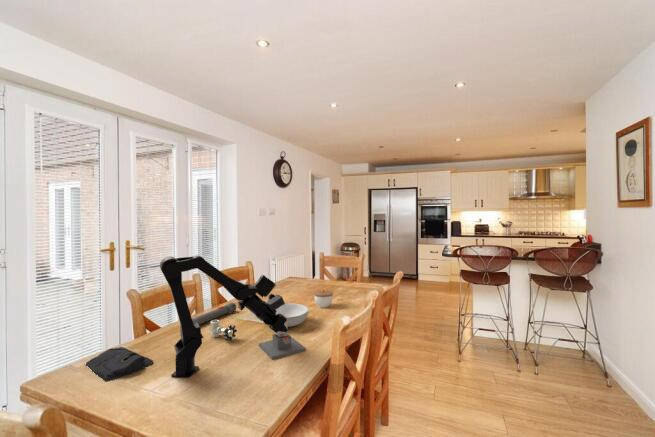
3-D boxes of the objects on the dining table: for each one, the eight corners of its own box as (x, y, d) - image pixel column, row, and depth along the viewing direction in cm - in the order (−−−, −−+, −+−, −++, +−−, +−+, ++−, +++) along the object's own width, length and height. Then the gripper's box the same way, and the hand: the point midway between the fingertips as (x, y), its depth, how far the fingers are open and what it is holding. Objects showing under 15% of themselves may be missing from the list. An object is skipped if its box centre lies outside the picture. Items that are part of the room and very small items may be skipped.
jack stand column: (279, 347, 122) (279, 318, 121) (275, 344, 125) (275, 316, 125) (287, 345, 124) (287, 317, 123) (284, 342, 127) (283, 314, 126)
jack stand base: (271, 359, 115) (271, 345, 114) (258, 345, 126) (258, 332, 126) (305, 350, 122) (305, 337, 122) (290, 338, 134) (290, 325, 134)
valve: (205, 337, 135) (224, 343, 129) (205, 322, 135) (224, 327, 129) (218, 332, 141) (237, 338, 135) (217, 318, 141) (236, 322, 134)
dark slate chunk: (128, 350, 124) (127, 338, 124) (156, 365, 112) (156, 352, 112) (81, 366, 112) (80, 352, 112) (107, 385, 99) (107, 370, 99)
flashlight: (187, 327, 147) (187, 317, 147) (229, 310, 173) (229, 301, 173) (195, 329, 145) (195, 318, 145) (236, 311, 171) (236, 302, 170)
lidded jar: (311, 304, 182) (311, 288, 181) (328, 302, 186) (328, 286, 186) (318, 310, 172) (318, 293, 172) (336, 307, 176) (336, 290, 176)
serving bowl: (256, 329, 144) (256, 314, 144) (275, 315, 164) (275, 302, 164) (300, 333, 139) (300, 318, 139) (313, 318, 159) (313, 304, 159)
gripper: (281, 294, 114) (308, 319, 120) (263, 284, 130) (287, 306, 136) (260, 320, 110) (289, 344, 116) (244, 306, 126) (270, 328, 132)
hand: (284, 329), depth 125 cm, fingers open, 4 cm apart
